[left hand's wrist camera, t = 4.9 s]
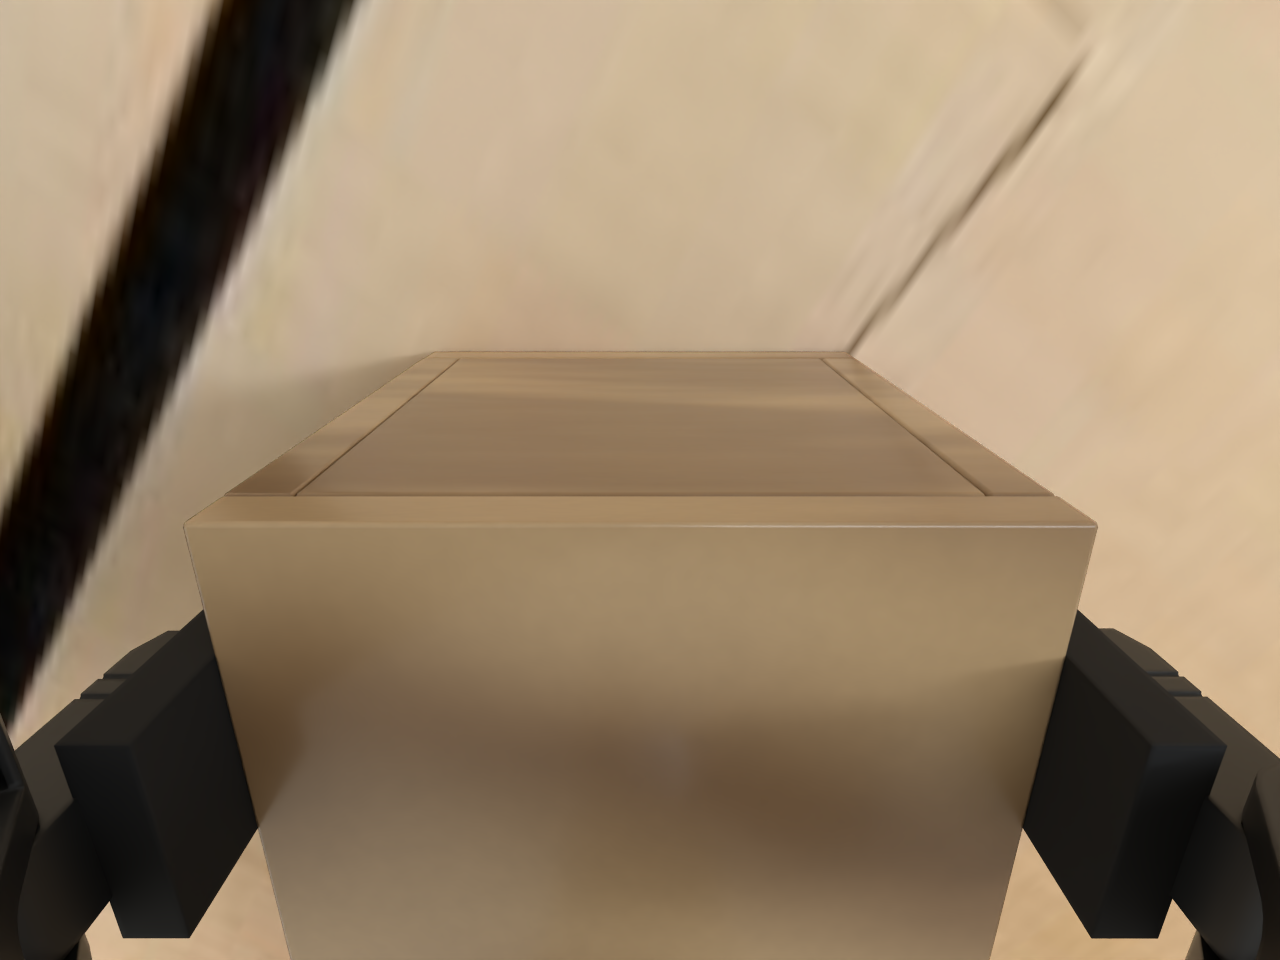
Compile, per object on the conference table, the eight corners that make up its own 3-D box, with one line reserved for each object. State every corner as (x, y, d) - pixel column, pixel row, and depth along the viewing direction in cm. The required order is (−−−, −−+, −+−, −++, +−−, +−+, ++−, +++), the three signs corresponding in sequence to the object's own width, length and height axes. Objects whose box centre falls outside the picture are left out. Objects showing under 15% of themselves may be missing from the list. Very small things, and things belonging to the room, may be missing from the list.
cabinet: (785, 943, 25) (878, 1408, 15) (493, 944, 25) (401, 1409, 15) (847, 351, 18) (1101, 523, 8) (432, 351, 17) (179, 523, 8)
